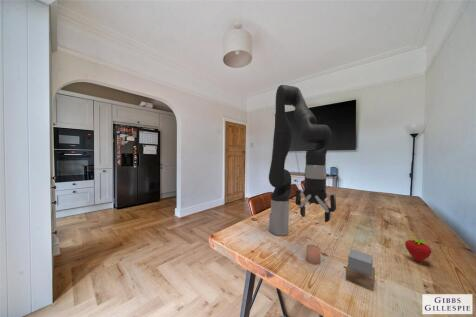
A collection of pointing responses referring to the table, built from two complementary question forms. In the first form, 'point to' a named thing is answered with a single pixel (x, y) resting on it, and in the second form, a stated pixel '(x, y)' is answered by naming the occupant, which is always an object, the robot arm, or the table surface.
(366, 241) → the table surface
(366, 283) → the tower base
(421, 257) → the strawberry
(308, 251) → the terracotta cylinder
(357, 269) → the tower middle
